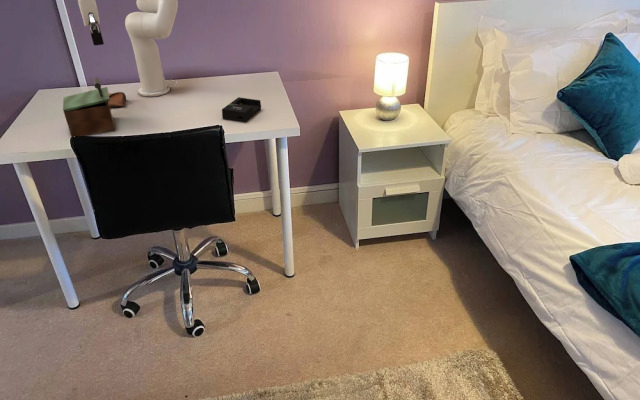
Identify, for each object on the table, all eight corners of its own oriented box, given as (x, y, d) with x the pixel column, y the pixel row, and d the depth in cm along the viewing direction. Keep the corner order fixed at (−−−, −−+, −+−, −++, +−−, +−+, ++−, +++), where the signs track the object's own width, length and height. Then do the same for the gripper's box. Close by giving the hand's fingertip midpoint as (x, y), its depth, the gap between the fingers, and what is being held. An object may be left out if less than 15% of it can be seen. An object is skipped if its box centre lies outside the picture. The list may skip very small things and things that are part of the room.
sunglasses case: (75, 111, 184) (72, 93, 183) (80, 113, 191) (77, 97, 190) (125, 106, 188) (122, 89, 187) (128, 109, 195) (125, 92, 194)
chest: (112, 117, 180) (106, 93, 175) (115, 130, 170) (108, 105, 165) (71, 123, 175) (64, 99, 170) (71, 137, 166) (63, 112, 160)
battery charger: (245, 123, 175) (244, 112, 173) (222, 119, 178) (221, 109, 176) (261, 109, 185) (260, 100, 183) (239, 106, 188) (238, 96, 186)
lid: (107, 88, 174) (101, 73, 171) (110, 100, 165) (103, 84, 161) (64, 99, 170) (57, 83, 167) (63, 112, 160) (56, 95, 157)
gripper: (70, -16, 163) (85, 36, 172) (71, -6, 150) (87, 49, 159) (94, -18, 165) (107, 33, 175) (97, -9, 152) (111, 46, 162)
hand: (98, 40), depth 167 cm, fingers open, 9 cm apart
